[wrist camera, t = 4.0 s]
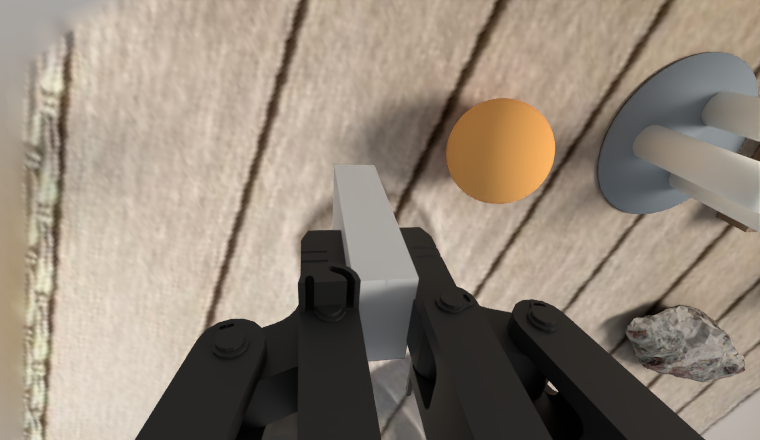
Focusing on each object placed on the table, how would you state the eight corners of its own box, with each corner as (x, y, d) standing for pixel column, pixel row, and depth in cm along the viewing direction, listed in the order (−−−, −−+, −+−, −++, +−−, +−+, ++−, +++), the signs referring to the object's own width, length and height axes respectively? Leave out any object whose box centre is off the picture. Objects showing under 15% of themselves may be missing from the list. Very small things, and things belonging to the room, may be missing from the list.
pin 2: (661, 187, 29) (777, 248, 22) (675, 158, 28) (803, 213, 21) (686, 187, 30) (808, 247, 23) (701, 158, 29) (835, 213, 21)
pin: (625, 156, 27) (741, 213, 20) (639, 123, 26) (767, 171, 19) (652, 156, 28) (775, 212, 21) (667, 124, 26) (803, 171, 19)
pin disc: (574, 214, 29) (576, 215, 29) (640, 45, 23) (643, 45, 23) (700, 211, 32) (702, 213, 31) (789, 58, 26) (792, 58, 25)
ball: (427, 178, 25) (458, 224, 20) (441, 85, 22) (482, 112, 17) (508, 178, 26) (557, 221, 21) (532, 90, 23) (596, 116, 18)
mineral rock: (605, 324, 38) (638, 361, 34) (677, 275, 36) (721, 308, 32) (653, 376, 45) (685, 411, 41) (715, 338, 43) (755, 371, 39)
